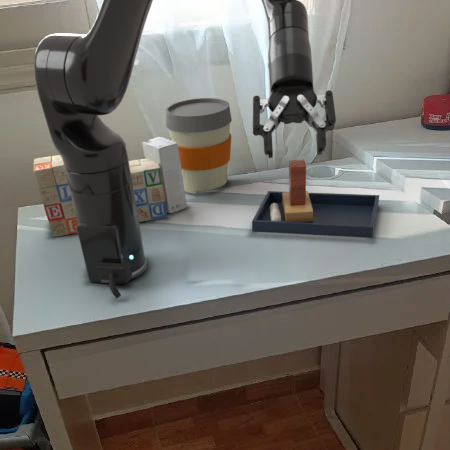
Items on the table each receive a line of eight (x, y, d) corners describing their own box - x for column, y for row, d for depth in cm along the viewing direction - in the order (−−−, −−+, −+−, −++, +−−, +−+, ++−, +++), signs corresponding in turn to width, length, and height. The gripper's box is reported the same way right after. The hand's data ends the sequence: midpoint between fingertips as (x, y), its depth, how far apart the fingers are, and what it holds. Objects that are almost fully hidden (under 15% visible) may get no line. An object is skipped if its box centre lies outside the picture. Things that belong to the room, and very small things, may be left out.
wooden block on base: (312, 227, 104) (314, 172, 98) (285, 228, 104) (285, 173, 98) (307, 205, 110) (308, 153, 104) (282, 207, 111) (281, 155, 105)
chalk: (279, 228, 105) (283, 219, 104) (269, 225, 104) (273, 215, 103) (276, 212, 110) (280, 203, 109) (267, 209, 109) (271, 200, 108)
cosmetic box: (188, 207, 115) (180, 142, 108) (168, 215, 114) (159, 148, 106) (170, 198, 119) (161, 134, 111) (151, 205, 117) (141, 141, 110)
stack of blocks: (162, 205, 117) (153, 139, 109) (168, 218, 112) (158, 150, 104) (51, 223, 114) (33, 157, 106) (51, 237, 109) (32, 169, 101)
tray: (371, 242, 100) (373, 227, 98) (252, 235, 105) (251, 221, 103) (378, 209, 109) (379, 195, 108) (268, 204, 114) (268, 190, 112)
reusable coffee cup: (241, 175, 126) (237, 97, 117) (227, 198, 117) (221, 116, 108) (184, 173, 129) (176, 97, 120) (166, 197, 120) (155, 116, 111)
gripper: (249, 54, 103) (254, 146, 101) (333, 48, 102) (339, 140, 101) (249, 81, 110) (254, 167, 109) (328, 75, 109) (334, 161, 108)
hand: (295, 154), depth 105 cm, fingers open, 8 cm apart
